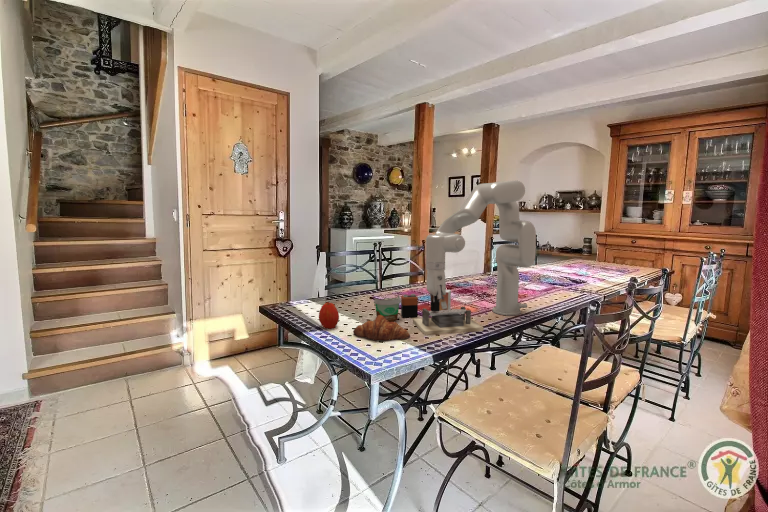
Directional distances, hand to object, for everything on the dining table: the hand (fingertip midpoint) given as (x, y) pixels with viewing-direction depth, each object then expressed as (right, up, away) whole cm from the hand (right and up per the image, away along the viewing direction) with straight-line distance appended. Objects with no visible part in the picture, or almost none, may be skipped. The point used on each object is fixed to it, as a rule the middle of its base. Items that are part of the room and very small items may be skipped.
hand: (435, 310), depth 148 cm
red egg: (-43, -7, +1) cm, 43 cm away
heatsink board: (+5, -7, +2) cm, 9 cm away
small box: (+6, -4, +22) cm, 23 cm away
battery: (-9, -5, +16) cm, 19 cm away
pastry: (-21, -9, -9) cm, 25 cm away
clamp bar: (+5, -1, +1) cm, 6 cm away
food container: (-18, -6, +9) cm, 21 cm away
